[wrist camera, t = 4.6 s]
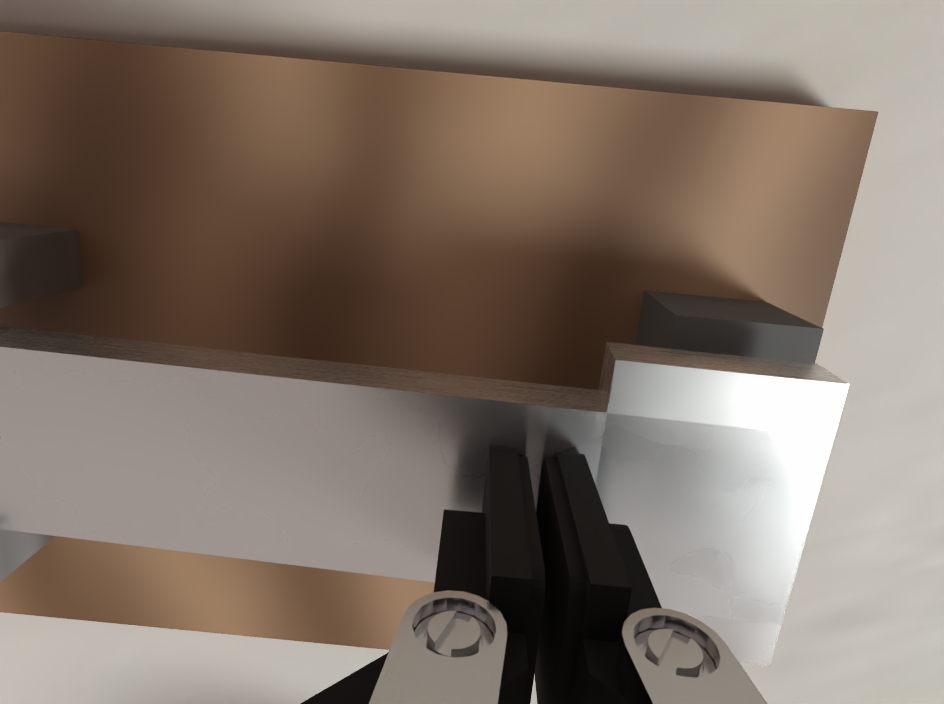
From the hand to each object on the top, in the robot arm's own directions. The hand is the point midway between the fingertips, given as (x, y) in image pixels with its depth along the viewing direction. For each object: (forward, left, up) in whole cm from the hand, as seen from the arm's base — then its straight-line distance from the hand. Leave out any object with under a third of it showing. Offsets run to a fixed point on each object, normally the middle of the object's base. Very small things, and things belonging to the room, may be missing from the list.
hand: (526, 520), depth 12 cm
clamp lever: (+4, 0, -2) cm, 5 cm away
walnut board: (+5, 0, -6) cm, 8 cm away
